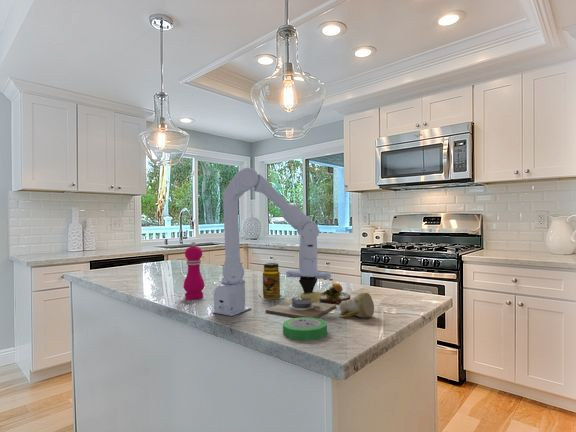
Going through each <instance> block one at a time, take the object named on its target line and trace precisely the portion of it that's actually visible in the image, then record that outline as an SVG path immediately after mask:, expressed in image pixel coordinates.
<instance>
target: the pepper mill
mask: <svg viewBox="0 0 576 432" xmlns="http://www.w3.org/2000/svg"><path fill="white" fill-rule="evenodd" d="M184 255H185V258H186V265H187V273H186V276H185V279H184V282H183V289H184V290H185V293H184V298H185V300H188V301H194V300H195V301H196V300H197V301H198V300H201V299H203V298H204V292H203V290H204V288H205V281H204V278H203V276H202V274H201V269H200V267H201V264H202V262H201V261H202V260H201V258H202V256H203V250H202V249H201V247H199V246H197V243H196V242H195V241H192V242H191V243H190V246H189V247H187V248H186V249H185V252H184Z"/></svg>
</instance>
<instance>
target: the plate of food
mask: <svg viewBox="0 0 576 432" xmlns="http://www.w3.org/2000/svg"><path fill="white" fill-rule="evenodd" d="M349 299H351V295H350V294H349V293H345V292H343V287H342V284H340V283H337V282H334V283H331V286H330V287H329V288H328V289H326V290H324V291H323V292H320V300H321V301H324V302H325V301H326V302H325V303H326V304H332V303H333V304H334V302H336V303H337V304H338V303H341V302H342V301H346V300H349Z"/></svg>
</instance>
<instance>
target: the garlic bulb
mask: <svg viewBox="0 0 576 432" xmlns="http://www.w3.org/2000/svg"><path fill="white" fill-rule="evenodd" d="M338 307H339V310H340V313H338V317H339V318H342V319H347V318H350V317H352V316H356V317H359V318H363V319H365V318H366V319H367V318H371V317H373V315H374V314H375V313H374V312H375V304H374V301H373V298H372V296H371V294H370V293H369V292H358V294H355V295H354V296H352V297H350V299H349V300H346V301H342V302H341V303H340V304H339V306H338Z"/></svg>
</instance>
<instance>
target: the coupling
mask: <svg viewBox="0 0 576 432" xmlns="http://www.w3.org/2000/svg"><path fill="white" fill-rule="evenodd" d="M320 293H321V292H319V291H313V292H309V293H304V292H302V293H300V295H299V296H294V297H291V299H292V306H294V307H299V308H304V307H310V306H311V303H315V302H319V303H321V301H320V300H321V299H320Z"/></svg>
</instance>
